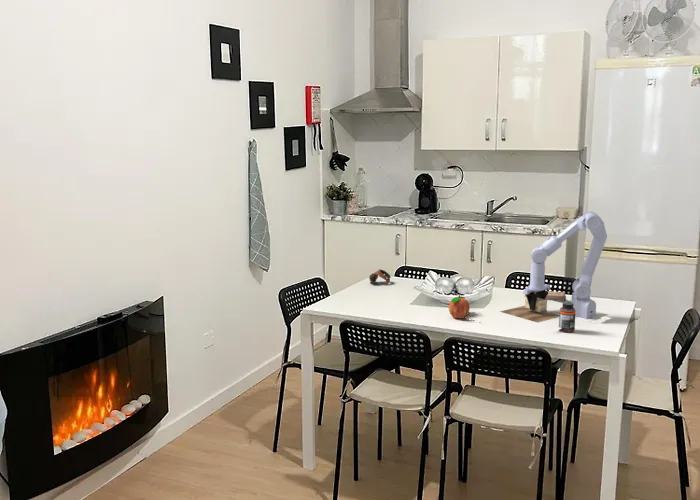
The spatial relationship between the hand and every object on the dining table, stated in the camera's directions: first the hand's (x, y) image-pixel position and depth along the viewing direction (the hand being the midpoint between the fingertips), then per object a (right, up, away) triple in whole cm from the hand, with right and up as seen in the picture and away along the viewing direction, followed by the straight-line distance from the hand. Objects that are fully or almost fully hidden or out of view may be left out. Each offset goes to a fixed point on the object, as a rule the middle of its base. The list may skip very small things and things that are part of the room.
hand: (535, 308), depth 292 cm
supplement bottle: (+7, -7, -20) cm, 22 cm away
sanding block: (0, 0, 0) cm, 0 cm away
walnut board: (-2, -3, -1) cm, 4 cm away
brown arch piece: (-64, +7, +58) cm, 86 cm away
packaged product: (+11, +1, +25) cm, 27 cm away
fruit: (-33, -4, -2) cm, 33 cm away
